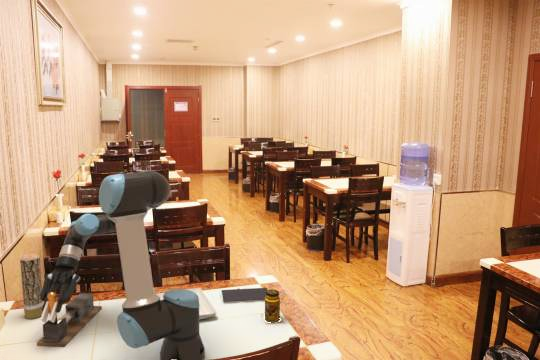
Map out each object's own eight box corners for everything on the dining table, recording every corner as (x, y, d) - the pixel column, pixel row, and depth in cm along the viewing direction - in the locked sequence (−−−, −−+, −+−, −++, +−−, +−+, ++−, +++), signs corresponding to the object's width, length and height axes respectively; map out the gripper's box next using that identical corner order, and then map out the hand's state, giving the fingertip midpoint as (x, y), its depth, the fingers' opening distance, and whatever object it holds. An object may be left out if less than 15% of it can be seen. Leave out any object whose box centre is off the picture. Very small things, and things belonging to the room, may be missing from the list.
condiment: (266, 324, 176) (266, 296, 174) (260, 315, 184) (260, 287, 182) (283, 322, 178) (284, 294, 176) (277, 313, 186) (277, 285, 184)
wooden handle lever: (72, 313, 175) (70, 275, 173) (80, 313, 175) (78, 275, 173) (47, 335, 158) (45, 293, 156) (56, 335, 158) (53, 294, 155)
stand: (78, 307, 188) (77, 290, 186) (101, 308, 187) (101, 291, 186) (37, 345, 158) (35, 325, 156) (64, 347, 157) (63, 326, 156)
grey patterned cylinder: (35, 320, 176) (31, 260, 172) (20, 318, 177) (16, 258, 173) (47, 312, 183) (43, 254, 179) (32, 311, 184) (28, 253, 180)
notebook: (266, 290, 210) (221, 293, 206) (266, 287, 209) (221, 289, 206) (271, 302, 197) (223, 304, 194) (271, 298, 197) (223, 301, 193)
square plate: (138, 304, 193) (138, 295, 192) (200, 294, 204) (200, 286, 203) (147, 333, 168) (147, 323, 168) (217, 320, 179) (217, 311, 178)
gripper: (92, 264, 171) (73, 325, 157) (53, 263, 172) (30, 323, 158) (85, 255, 165) (64, 318, 151) (44, 254, 166) (20, 316, 152)
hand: (47, 320), depth 155 cm, fingers closed on wooden handle lever, 2 cm apart
